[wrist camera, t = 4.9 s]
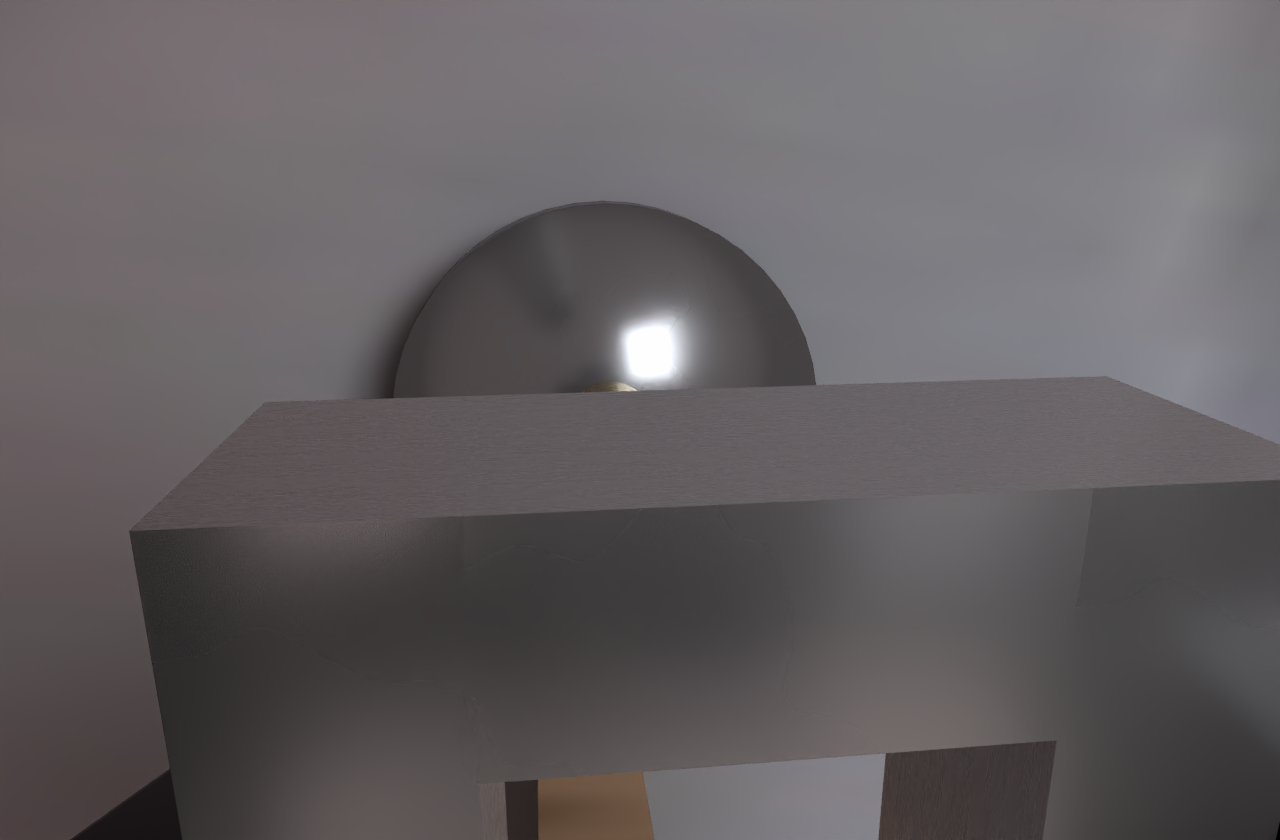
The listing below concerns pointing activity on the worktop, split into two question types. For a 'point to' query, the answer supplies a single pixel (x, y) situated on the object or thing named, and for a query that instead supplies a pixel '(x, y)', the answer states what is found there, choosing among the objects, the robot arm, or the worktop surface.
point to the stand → (594, 808)
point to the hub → (603, 311)
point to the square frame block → (725, 607)
